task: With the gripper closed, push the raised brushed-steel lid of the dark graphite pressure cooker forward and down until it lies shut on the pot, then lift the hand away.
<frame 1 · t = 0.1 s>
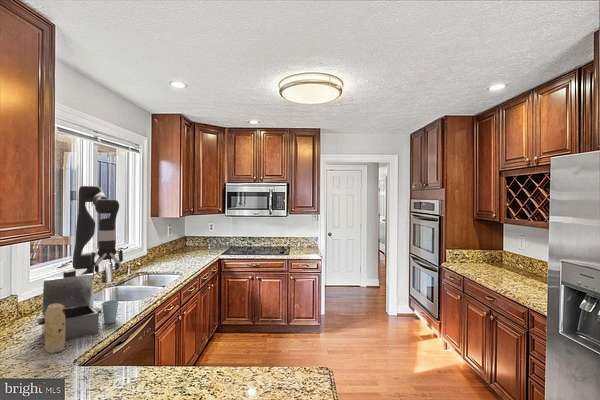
hand: (106, 271, 176), 29 cm above the countertop, tool pointing down, fingers open, 8 cm apart
cooker pot: (70, 333, 171), on the countertop
food model: (54, 351, 152), on the countertop
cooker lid: (67, 289, 176), point 20 cm above the countertop, hinge at 70.0°
cup: (110, 322, 188), on the countertop
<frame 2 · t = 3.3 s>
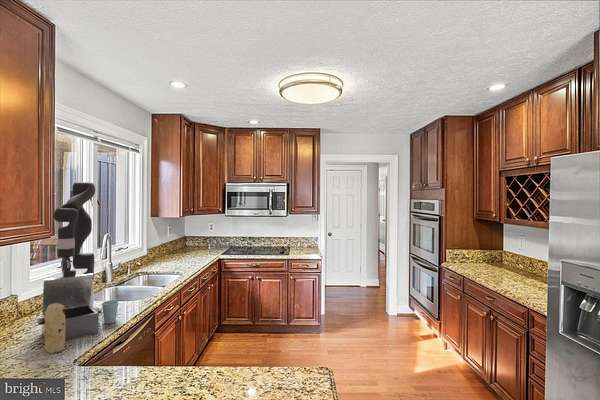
hand: (65, 281, 180), 23 cm above the countertop, tool pointing down, fingers closed
nothing on the countertop moved.
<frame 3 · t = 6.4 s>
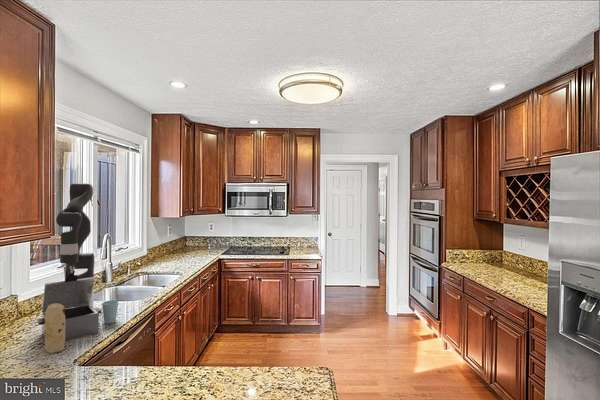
hand: (68, 287, 174), 22 cm above the countertop, tool pointing down, fingers closed
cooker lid: (68, 291, 174), point 20 cm above the countertop, hinge at 58.3°, touching gripper
everything else where it was.
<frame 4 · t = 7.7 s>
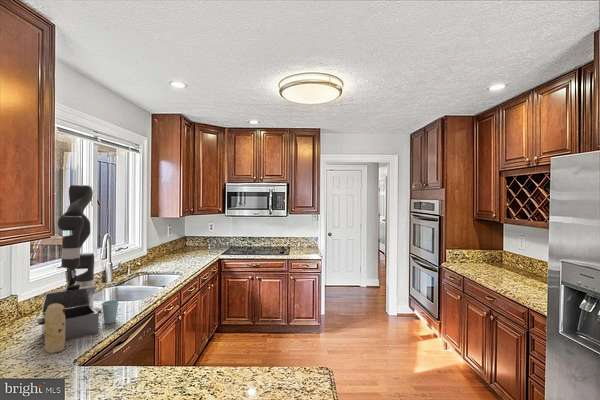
hand: (70, 292, 171), 20 cm above the countertop, tool pointing down, fingers closed
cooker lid: (69, 295, 173), point 18 cm above the countertop, hinge at 41.4°, touching gripper
everything else where it was.
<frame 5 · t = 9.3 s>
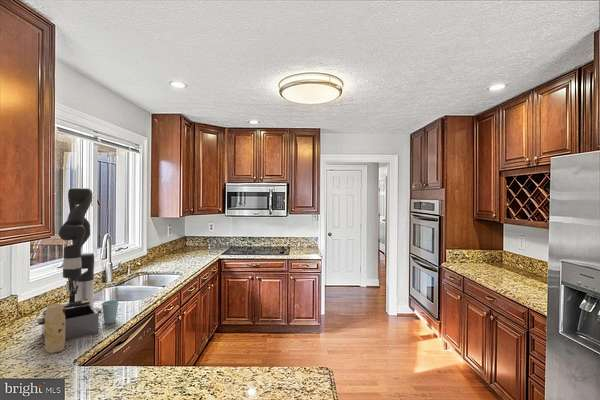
hand: (72, 302, 169), 16 cm above the countertop, tool pointing down, fingers closed
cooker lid: (70, 303, 171), point 15 cm above the countertop, hinge at 18.9°, touching gripper
everything else where it was.
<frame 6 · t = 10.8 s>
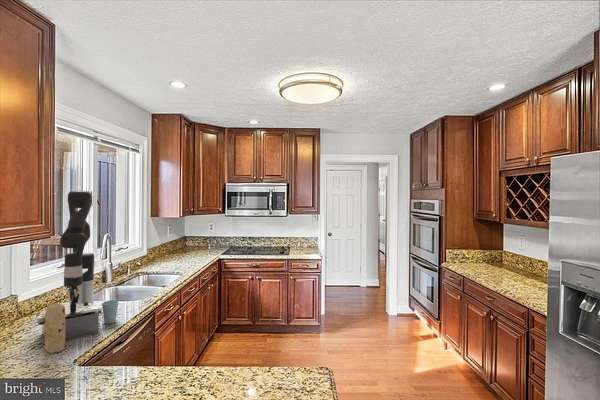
hand: (73, 311, 167), 12 cm above the countertop, tool pointing down, fingers closed
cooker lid: (71, 309, 170), point 12 cm above the countertop, hinge at 3.4°, touching gripper
everything else where it was.
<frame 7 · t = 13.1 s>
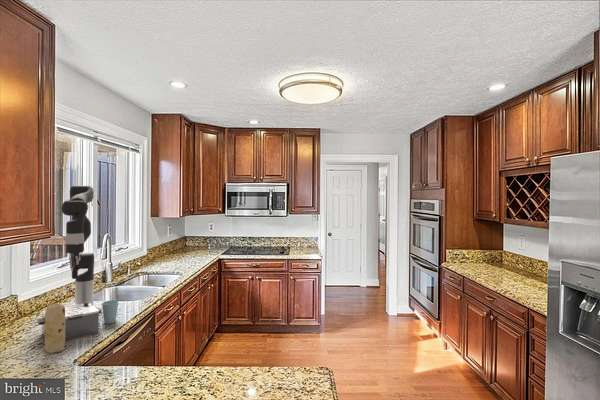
hand: (74, 278, 169), 27 cm above the countertop, tool pointing down, fingers closed
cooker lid: (71, 311, 170), point 11 cm above the countertop, hinge at -0.1°
everything else where it was.
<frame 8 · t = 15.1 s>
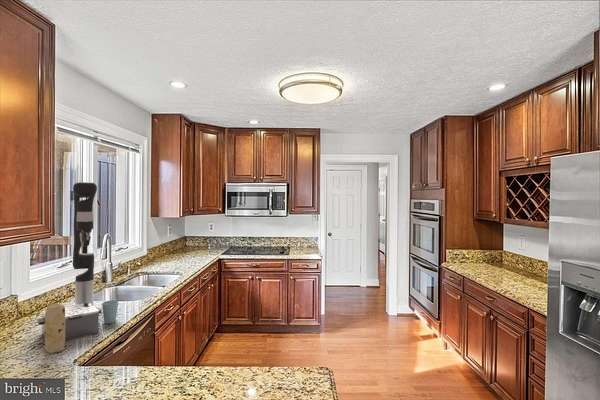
hand: (84, 253, 184), 37 cm above the countertop, tool pointing down, fingers closed
nothing on the countertop moved.
at the end: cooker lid at +0° (first picture: +70°); cup moved 0.2 cm from its start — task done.
